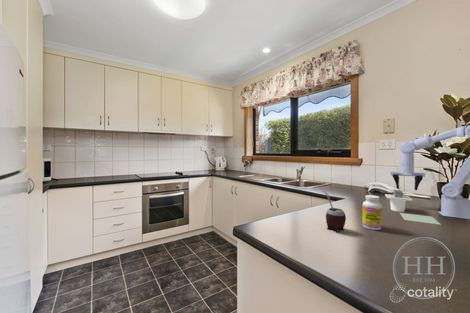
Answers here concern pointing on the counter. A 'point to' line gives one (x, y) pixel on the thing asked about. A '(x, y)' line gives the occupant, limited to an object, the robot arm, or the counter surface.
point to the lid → (398, 196)
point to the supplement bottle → (372, 213)
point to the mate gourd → (335, 218)
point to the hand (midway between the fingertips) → (406, 189)
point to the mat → (419, 218)
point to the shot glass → (397, 205)
